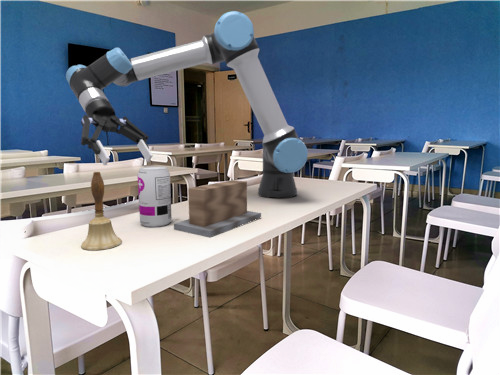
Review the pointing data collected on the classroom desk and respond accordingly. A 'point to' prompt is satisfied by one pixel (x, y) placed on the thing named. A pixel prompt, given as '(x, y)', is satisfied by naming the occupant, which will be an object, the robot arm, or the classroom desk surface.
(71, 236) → the classroom desk surface
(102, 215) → the hand bell
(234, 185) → the stand
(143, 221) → the supplement can
